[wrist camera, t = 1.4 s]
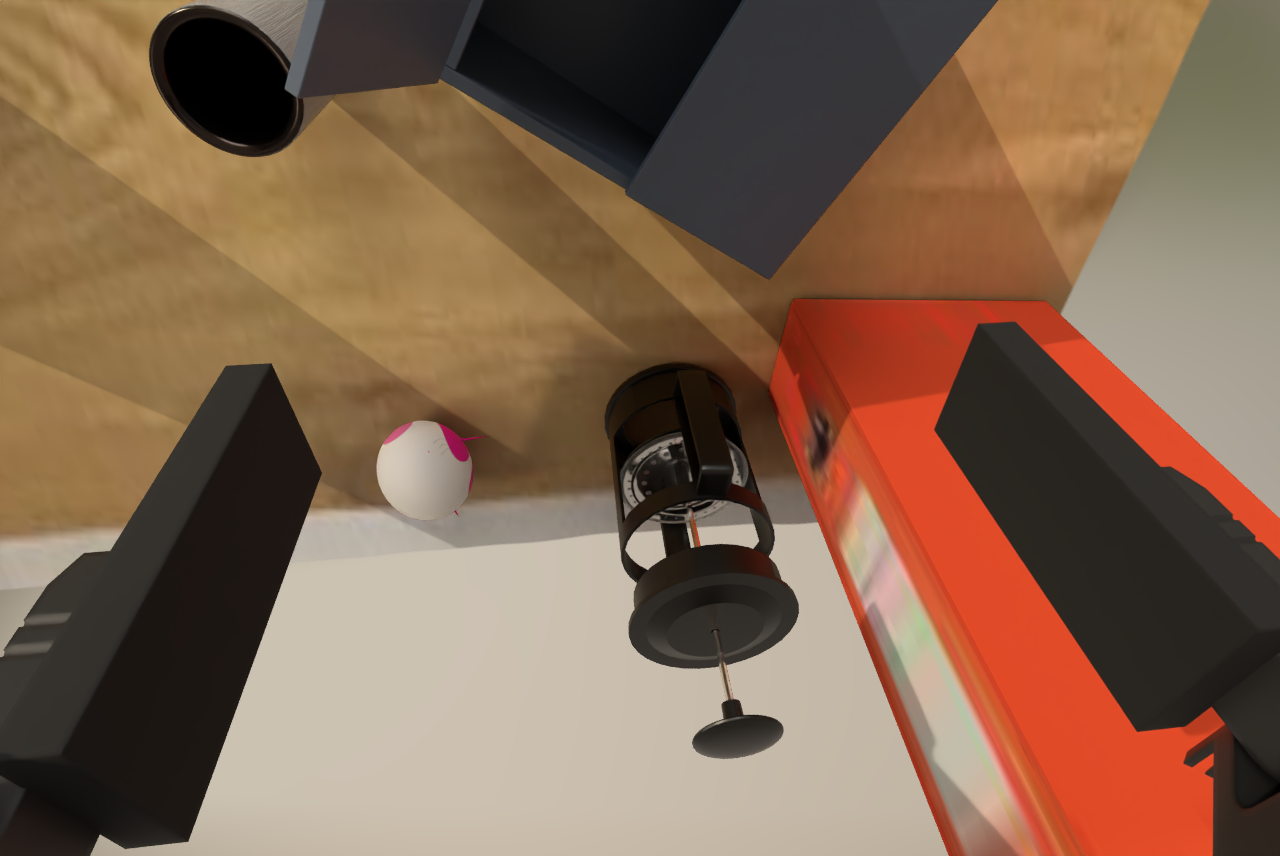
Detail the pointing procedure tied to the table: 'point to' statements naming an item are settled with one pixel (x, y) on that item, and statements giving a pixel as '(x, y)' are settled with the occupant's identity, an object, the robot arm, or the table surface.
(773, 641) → the french press
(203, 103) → the gray hollow cylinder
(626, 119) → the carton
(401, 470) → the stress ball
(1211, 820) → the file binder
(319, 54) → the flap
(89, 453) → the table surface
